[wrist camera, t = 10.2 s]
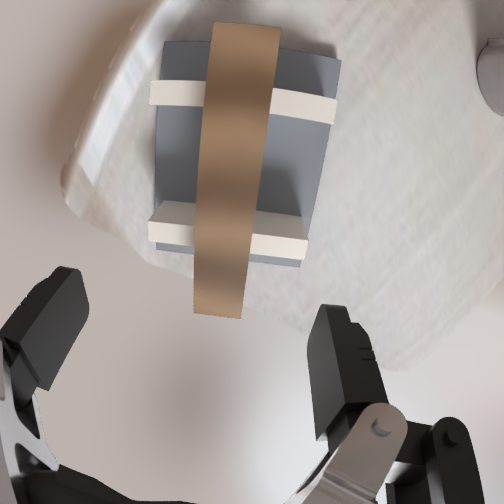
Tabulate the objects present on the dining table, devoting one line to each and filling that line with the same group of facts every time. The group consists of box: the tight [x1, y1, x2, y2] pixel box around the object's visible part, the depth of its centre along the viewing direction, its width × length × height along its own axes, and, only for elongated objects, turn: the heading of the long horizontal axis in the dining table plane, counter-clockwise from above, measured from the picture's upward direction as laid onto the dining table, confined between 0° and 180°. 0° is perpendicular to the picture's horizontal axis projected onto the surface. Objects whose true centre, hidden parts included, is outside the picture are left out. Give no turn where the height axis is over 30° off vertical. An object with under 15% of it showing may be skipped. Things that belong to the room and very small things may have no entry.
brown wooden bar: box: [194, 22, 281, 319], centre depth 21 cm, size 22×4×4 cm, turn 173°
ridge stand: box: [148, 41, 341, 267], centre depth 25 cm, size 22×16×6 cm
